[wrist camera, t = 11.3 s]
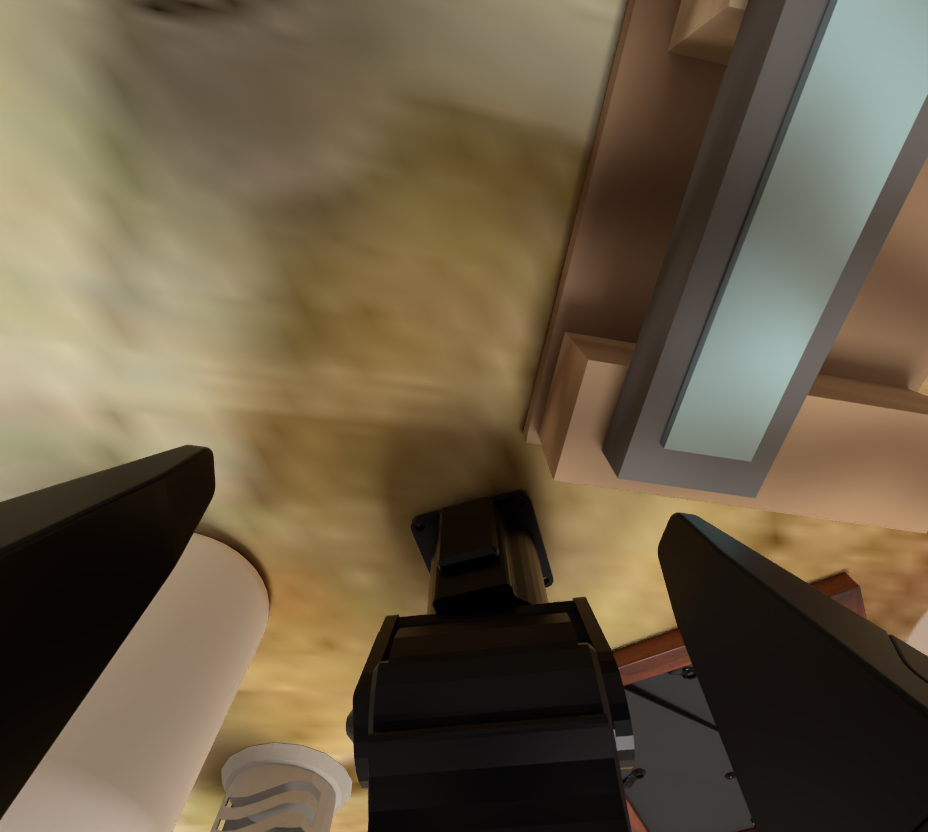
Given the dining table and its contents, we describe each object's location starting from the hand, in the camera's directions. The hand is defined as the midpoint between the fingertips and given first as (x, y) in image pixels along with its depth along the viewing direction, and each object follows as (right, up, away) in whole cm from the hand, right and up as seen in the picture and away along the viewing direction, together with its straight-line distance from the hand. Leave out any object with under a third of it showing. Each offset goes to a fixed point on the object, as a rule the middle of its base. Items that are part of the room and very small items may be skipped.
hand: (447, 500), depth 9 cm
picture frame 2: (+19, -21, +25) cm, 38 cm away
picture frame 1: (+9, +7, +6) cm, 13 cm away
